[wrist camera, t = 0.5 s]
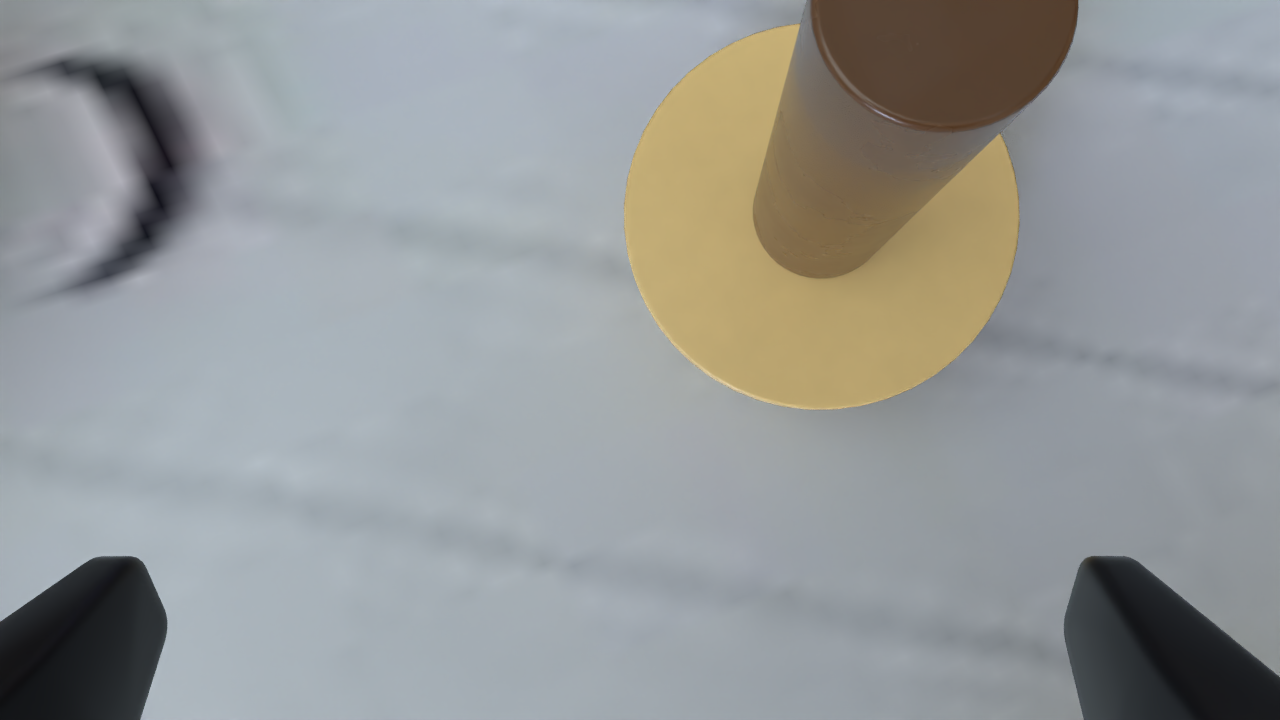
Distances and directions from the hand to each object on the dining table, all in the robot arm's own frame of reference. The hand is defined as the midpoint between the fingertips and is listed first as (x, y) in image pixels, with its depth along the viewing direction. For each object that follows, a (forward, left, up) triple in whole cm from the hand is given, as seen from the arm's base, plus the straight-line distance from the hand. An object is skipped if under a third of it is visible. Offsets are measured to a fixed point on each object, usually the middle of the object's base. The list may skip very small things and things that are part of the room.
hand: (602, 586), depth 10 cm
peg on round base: (+3, -6, -10) cm, 12 cm away
